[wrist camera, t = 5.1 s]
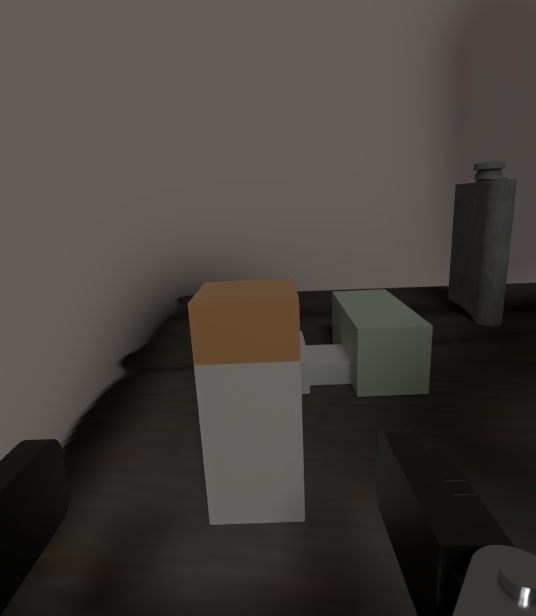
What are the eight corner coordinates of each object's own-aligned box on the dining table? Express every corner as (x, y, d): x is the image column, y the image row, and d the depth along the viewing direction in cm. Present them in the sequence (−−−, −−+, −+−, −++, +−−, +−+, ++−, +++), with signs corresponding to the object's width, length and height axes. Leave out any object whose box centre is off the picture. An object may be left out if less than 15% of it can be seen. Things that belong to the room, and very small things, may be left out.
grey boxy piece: (383, 339, 48) (385, 289, 46) (428, 393, 34) (432, 325, 32) (230, 345, 48) (226, 296, 46) (214, 402, 34) (208, 335, 33)
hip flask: (445, 297, 66) (454, 167, 61) (472, 296, 65) (483, 165, 60) (478, 326, 51) (493, 157, 46) (513, 326, 50) (532, 154, 45)
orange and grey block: (298, 462, 26) (292, 278, 23) (305, 521, 21) (298, 298, 18) (221, 464, 26) (205, 282, 23) (210, 524, 21) (187, 303, 18)
